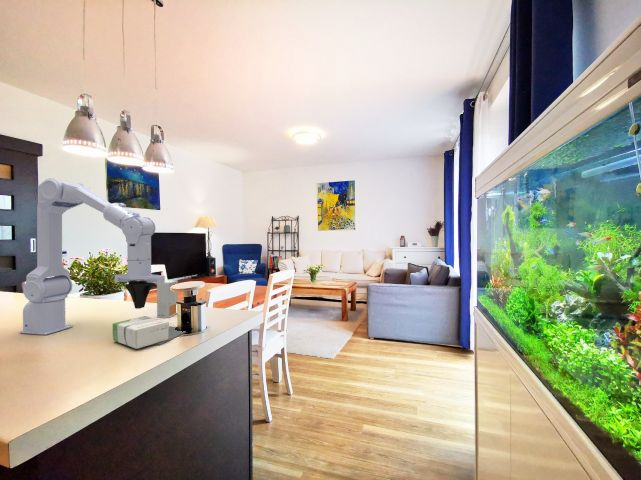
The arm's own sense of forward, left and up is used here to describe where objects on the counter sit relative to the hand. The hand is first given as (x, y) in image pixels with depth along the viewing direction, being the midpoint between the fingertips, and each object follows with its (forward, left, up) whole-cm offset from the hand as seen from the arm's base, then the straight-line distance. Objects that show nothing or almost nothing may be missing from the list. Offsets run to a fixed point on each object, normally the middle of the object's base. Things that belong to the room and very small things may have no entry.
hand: (139, 307), depth 86 cm
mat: (+6, 0, -7) cm, 10 cm away
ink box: (0, -3, -5) cm, 6 cm away
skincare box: (-6, +19, -8) cm, 21 cm away
